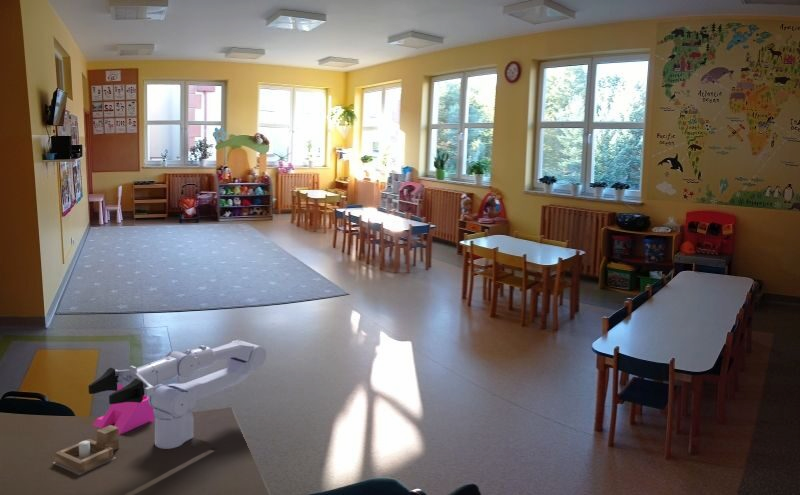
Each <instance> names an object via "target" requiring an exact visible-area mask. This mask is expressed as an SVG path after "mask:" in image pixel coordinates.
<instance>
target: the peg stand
mask: <svg viewBox="0 0 800 495" xmlns="http://www.w3.org/2000/svg"><path fill="white" fill-rule="evenodd" d="M78 443H79V455H78V456H76V457H75V458H78V459H80V460H82V459H84V458H87V457H89V456H91V455H93V454H94V453H91V452H90V441H85V440H82V441H80V442H78ZM115 459H117V457H116V456H113V458H112V459H110V460H108V461H106V462H104V463H101V464H99V465H97V466H95V467H93V468H91V469H88V470H86V471H84V472H82V473H78V472H75V471H73V470H71V469H69V468H66V467H64V466H62V465H60V464H57V463H55V461H53V462H52V464H53V465H56V466H58V467H60V468H62V469H64V470H67V471H69V472H72V473H73V474H76V475H78V476H80V475H83V474H85V473H87V472H89V471H91V470H93V469H96V468H98V467H99V466H100V467H101V466H102V465H104V464H107V463H108V462H110V461H112V460H115Z"/></svg>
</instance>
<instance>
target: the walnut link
mask: <svg viewBox="0 0 800 495" xmlns="http://www.w3.org/2000/svg"><path fill="white" fill-rule="evenodd" d="M119 436H120V435H119V428H118V427H115V426H114V425H113V424H111V425H108V426H106V427H104V428H99V429H97V430H96V440H93V439H90V438H88V439H85V440H84V441H90V452H91V453H94V454H93V455H91V456H89V457H87V458H84V459H82V460H80V459H78V458H75V457H76V456H78V455H79V443H80V442H78V443H75V444H73V445H70V446H68V447H65V448H63V449H61V450H59V451H56V452H54V453H55V454H54V458H55V461H54V462H55V463H57V464H60V465H62V466H64V467H66V468H69V469H71V470H73V471H75V472H78V473H82V472H84V471H86V470H88V469H91V468H93V467H95V466H97V465H99V464H101V463H104V462H106V461H108V460H110V459H112V458H113V457H114V452H115V451H116V450H118V449H119V448H120V437H119ZM104 464H105V463H104Z"/></svg>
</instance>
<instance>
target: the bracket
mask: <svg viewBox="0 0 800 495" xmlns="http://www.w3.org/2000/svg"><path fill="white" fill-rule="evenodd" d="M122 388H124V386H123V385H122V384H121V383H120V382H119V385H117V391H118V390H120V389H122ZM114 392H116V391H114ZM148 398H149V396H148V397H146V396H145V395H143V400H142V402H141V403H137V402H124V403H118V404H110V406H109V408H108V409H107V411H106V412H105V413H104V415H102V416H100V417H97V418H96V419H95V421H94V423H93V424H92V426H93V427H96V428H98V429H102V428H104V427H107V426H109V425H113V424H114V425H113V426H115V427H118V428H119V436H120V435H122V434H125V433H127V432H129V431H131V430H133V429H136V428H137V427H140V426H143V425H145V424H148V423H149V422H150V423H153V424H155V413H154V412H153V407H151V406H150V404H149V401H148Z"/></svg>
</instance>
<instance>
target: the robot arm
mask: <svg viewBox="0 0 800 495" xmlns="http://www.w3.org/2000/svg"><path fill="white" fill-rule="evenodd" d="M266 358H267V348H265V347H264V346H263V345H258V344H256V343H255V344H254V343H251V342H248V341H244V340H242V339H236V340H232V341H231V342H229V343H226V344H223V345H220V346H217V347H214V348H211V347H210V346H207V345H203V344H202V345H199V346H198V348H194V349H190V348H188V349H185V350H184V351H182V352H181V351H178V350H176V351H173V350H170V351H168V352H167V353H166V355H165V356H164V357H162V358H160V359H158V360H155V361H152V362H149V363H147V364H144V365H141V366H138V367H137V366H134V365H130V366H129V367H128V369H115V368H114V367H109V368H107V369H106V370H105V372H104V373H103V374H102V375H101V376H100V377H99V378H98V379H96V380H94V381H93V382H92V383H90V384H88V394H89V395H94V394H95V395H96V394H98V393H99V394H100V393H103V392H108V391H114V392H112V393H111V394H109V395H108V401H109V402H108V403H109V404H110V405H112V404H118V403H124V402H137V403H141V402H142V400H143V395H145V396H146V397H148V396H149V398H148V401H149V404H150V406H151V407H153V412H154V445H155V446H156V448H159V449H164V450H165V449H167V450H168V449H169V450H170V449H174V448H177V447H180V446H182V445H183V444H185V442H188V441H190V440H191V439H193V438H194V431H195V430H194V415H193V412H192V411H191V409H193V408H195V406H196V401H198V400H200V399H204V398H206V397H208V396H211V395H213V394H216V393H218V392H220V391H223V390H225V389H228V388H231V387H234V386H236V385H239V384H241V383H242V382H243V381H244V380H246V379H247V377H249V375H251V374H252V373H253V372H255V371H257V370H260V369H262V368H263V365H264V363H265V361H266ZM222 360H223V361H224V360H226V361H225V368H223V369H220V370H217V371H215V372H211V373H209V374H206V375H204V376H201V377H197V378H196V379H193V380H190V381H187V382H184V383H169V384H163V383H165V382H167V381H170V380H172V379H175V378H177V377H181V378H189V377H191V376H192V375H193V374H194V373H195V372H197V371H199V370H204V369H207V368H210V367H212V366H213V365H214V363H215V362H217V361H222ZM118 383H119V384H120V383H121V384H122V385H123V386H124V388H122V389H120V390H118V391H117V388H118ZM115 391H116V392H115Z"/></svg>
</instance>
